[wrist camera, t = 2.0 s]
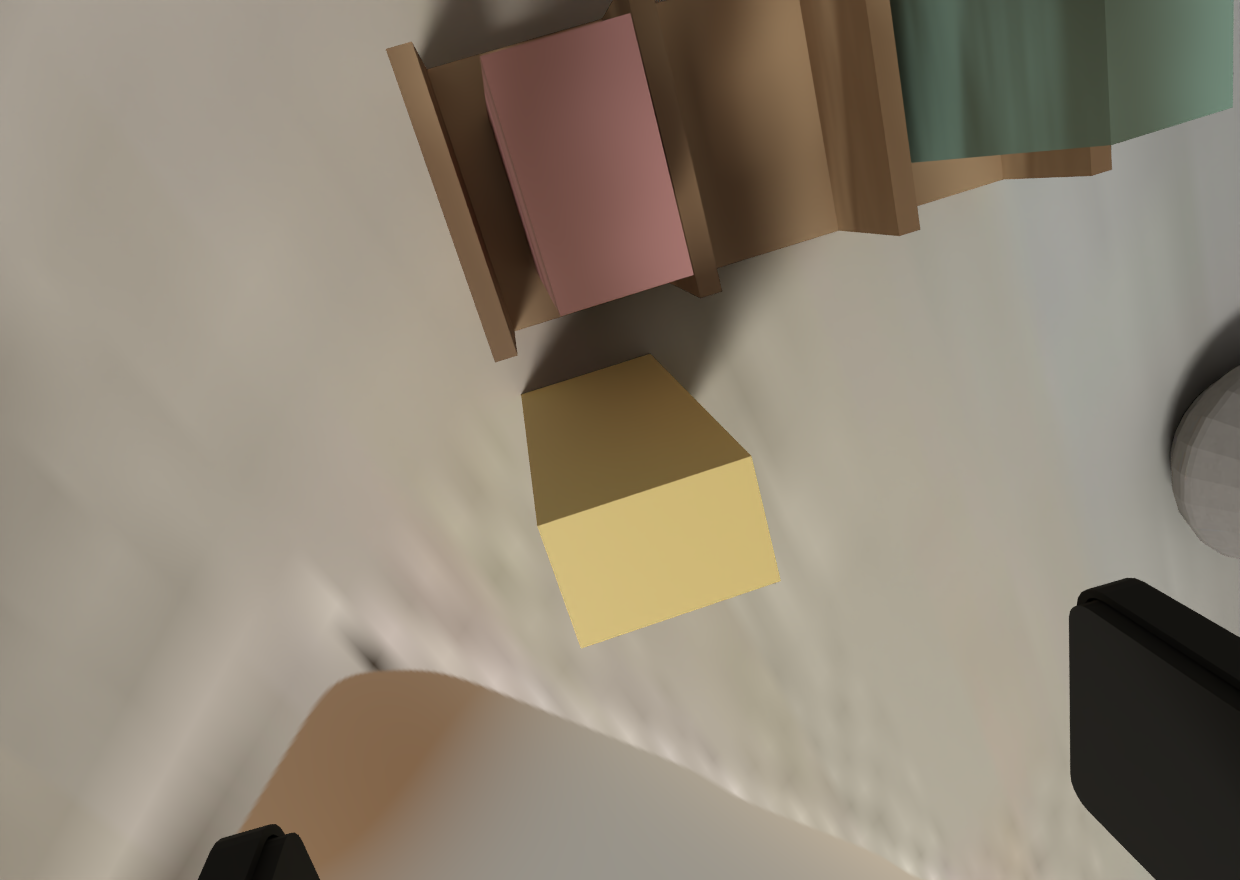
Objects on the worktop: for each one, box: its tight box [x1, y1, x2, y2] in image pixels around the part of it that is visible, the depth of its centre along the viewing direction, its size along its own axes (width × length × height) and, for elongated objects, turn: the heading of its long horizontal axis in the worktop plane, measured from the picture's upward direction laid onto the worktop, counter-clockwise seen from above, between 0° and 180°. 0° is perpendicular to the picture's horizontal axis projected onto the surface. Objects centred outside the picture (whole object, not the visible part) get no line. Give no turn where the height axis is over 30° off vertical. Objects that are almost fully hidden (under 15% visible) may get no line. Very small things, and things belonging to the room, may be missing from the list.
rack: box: [386, 0, 1233, 362], centre depth 24 cm, size 23×10×14 cm, turn 106°
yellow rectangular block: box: [521, 354, 781, 648], centre depth 27 cm, size 6×4×14 cm, turn 106°
